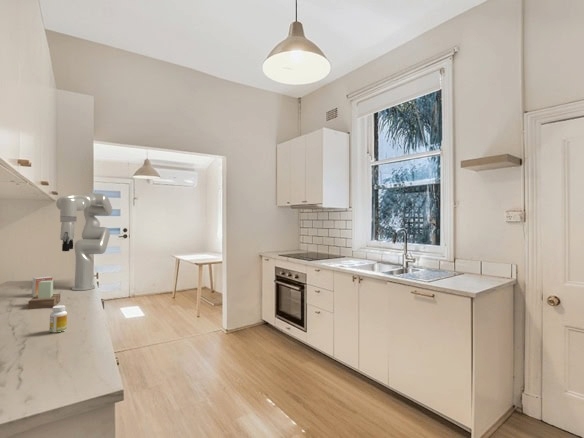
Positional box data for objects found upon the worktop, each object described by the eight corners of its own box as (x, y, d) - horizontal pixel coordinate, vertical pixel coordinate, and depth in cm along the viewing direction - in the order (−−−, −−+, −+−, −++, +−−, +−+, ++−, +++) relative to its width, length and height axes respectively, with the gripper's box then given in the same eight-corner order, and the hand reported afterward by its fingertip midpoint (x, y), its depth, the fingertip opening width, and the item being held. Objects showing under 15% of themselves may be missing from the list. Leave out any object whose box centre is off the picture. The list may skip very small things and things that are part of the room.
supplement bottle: (69, 328, 127) (70, 304, 127) (62, 333, 122) (63, 308, 122) (53, 329, 126) (54, 304, 126) (46, 334, 121) (47, 308, 121)
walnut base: (36, 302, 166) (37, 295, 166) (60, 301, 170) (60, 293, 170) (28, 309, 153) (28, 301, 153) (53, 307, 157) (53, 299, 157)
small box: (34, 297, 176) (35, 278, 176) (31, 296, 180) (32, 277, 180) (52, 295, 183) (52, 277, 183) (48, 294, 186) (49, 276, 186)
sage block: (40, 296, 163) (41, 280, 163) (52, 295, 165) (53, 280, 165) (38, 298, 158) (38, 282, 159) (50, 297, 161) (50, 281, 161)
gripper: (63, 219, 183) (63, 248, 184) (56, 220, 168) (55, 252, 168) (79, 219, 187) (78, 248, 187) (73, 220, 171) (72, 251, 171)
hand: (67, 250), depth 177 cm, fingers open, 9 cm apart
